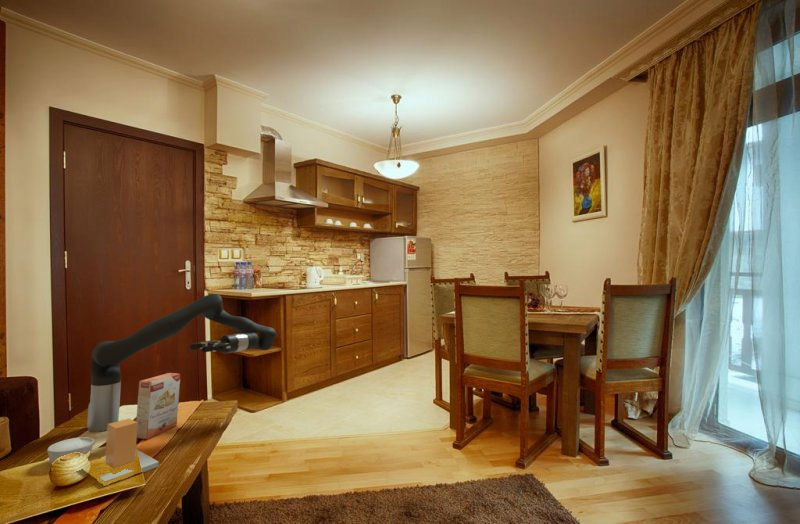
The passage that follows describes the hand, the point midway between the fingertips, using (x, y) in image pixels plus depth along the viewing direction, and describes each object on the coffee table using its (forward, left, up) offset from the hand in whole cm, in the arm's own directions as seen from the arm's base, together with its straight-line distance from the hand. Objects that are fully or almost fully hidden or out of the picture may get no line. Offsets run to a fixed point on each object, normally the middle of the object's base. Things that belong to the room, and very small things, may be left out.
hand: (196, 348), depth 144 cm
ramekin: (-18, -30, -32) cm, 48 cm away
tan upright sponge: (+1, -28, -30) cm, 42 cm away
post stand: (+1, -28, -32) cm, 43 cm away
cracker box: (-13, -4, -32) cm, 35 cm away
